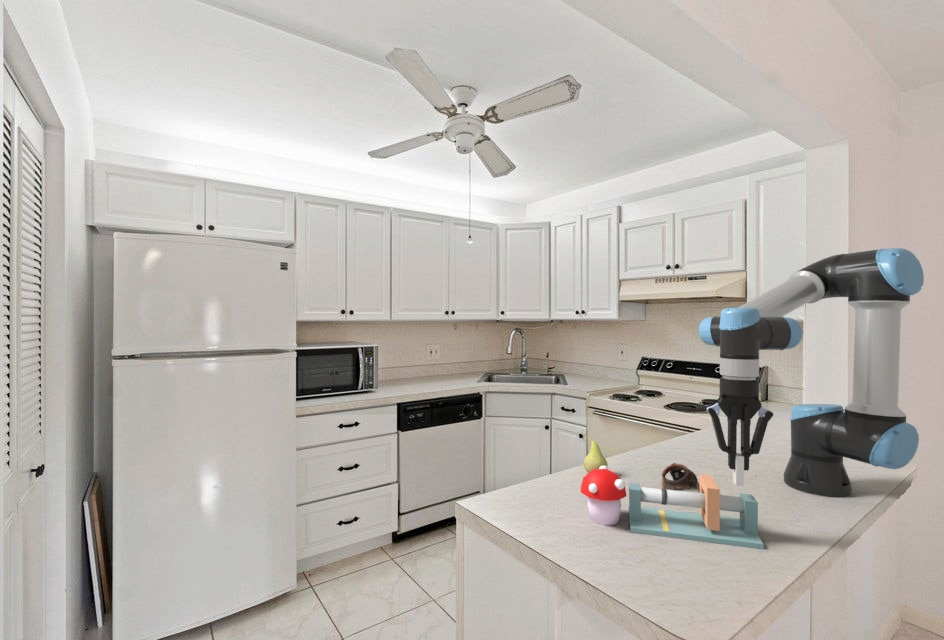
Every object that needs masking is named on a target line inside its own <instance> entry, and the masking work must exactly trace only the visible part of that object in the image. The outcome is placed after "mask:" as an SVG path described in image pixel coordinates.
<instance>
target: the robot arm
mask: <svg viewBox="0 0 944 640" xmlns="http://www.w3.org/2000/svg"><path fill="white" fill-rule="evenodd" d="M924 275H925V274H924V270H923V267H922V264H921V262H920V260H919V258H918V257H916V254H914V253H913V252H912V251H910V250H908V249H906V248H903V247H897V248H895V247H893V248H879V249H873V250H865V251H864V250H863V251H858V252H857V251H856V252H850V253H841V254H840V253H839V254H834V255H831V256H828V257H826V258H823V259H820V260H818V261H816V262H813V263H811V264H809V265H806V266H805V267H803V268H800V269H799V270H797V271H795V272H794V273H792V274H791V275H790V276H789V277H788V279H787V280H786V281H785V282H783V283H781V284H779V285H777V286H775V287H773V288H771V289H770V290H768V291H766V292H764V293H763V294H761V295H758V296H756V297H755V298H753V299H751V300H750V301H748V302H746V303H744V304H741V305H740V306H738V307H726V308H723V309H722V310H721V312H720V316H709V317H706V318H704V319H703V320H702V321H701V322H700V323H699V327H698V335H699V337H700V338H699V339H700V340H701V341H702V342H703V343H704V344H706V345H709V346H715V347H719V374H720V375H721V377H720V378H719V396H718V398H717V400H716V403H715V404H713V405H711V406H709V405H708V406H706V407H705V410H706V411H707V413H708V414H709V416H710V417H711V422H712V426H713V429H714V433H715V437H716V441H717V445H718V448H719V449H720V450H721V451H722V452H724V453H726V454H727V466H728V468H729V469H730V470H732V482H733V483H734V485H735V486H736V487H745V483H744V482H745V471H747V472H748V471H749V469H750V457H752V455H758V454H760V452H761V448H762V444H763V441H764V439H765V434H766V431H767V427H768V425H769V424H768V423H769V421H770V420H771V419H772V417H774V412H773V411H771V410H769V409H767V408H765V407H764V406H762V405H763V404H762V403H761V400H760V381H759V379H757V378H758V377H760V350H761V351H764V350H765V351H775V350H777V351H785V350H792V349H793V348H795V347H797V346H798V345H799V344H800V343H801V341H802V339H803V329H802V326H801V324H800V323H799V322H798V321H797V320H795V319H794V318H792V317H788V316H787V317H785V316H786V315H788V314H790V313H792V312H793V311H796V310H797V309H799V308H800V307H802V306H804V305H806V304H815V303H817V302H819V301H821V300H823V299H831V298H847V303H848V305H850V306H851V307H852V308H854V311H855V312H854V313H855V314H854V315H855V316H854V339H853V340H854V343H853V344H854V345H853V371H852V372H853V376H852V400H851V402H850V403H849V404H847V405H846V406H844V407H843V406H842V405H841V404H831V403H805V404H797V405H794V406H793V407H792V409H791V414H790V419H789V420H790V448H791V450H790V458H789V460H788V463H787V465H786V467H785V469H784V473H783V482H784V483H785V484H786V485H787V486H788V487H791V488H793V489H795V490H799V491H801V492H805V493H809V494H812V495H813V494H814V495H819V496H827V497H847V496H850V495H851V494H852V482H851V479H850V478H849V474H848V472H847V469H846V468H845V464H844V458H845V459H850V460H854V461H858V462H861V463H865V464H869V465H871V466H873V467H876V468H877V467H880V468H886V469H890V470H899V469H901V468H904V467H906V466H907V465H908V464H909V463H910V462H911V460H913V458H914V457H915V455H916V453H917V450H918V448H919V447H918V446H919V442H920V437H919V435H920V434H919V432H918V429H917V428H916V427H915V426H914V425H912V424H910V422H909V423H908V422H907V414H906V413H905V412H904V411H903V410H902V409H901V408H900V406H899V385H900V384H899V383H900V381H899V380H900V355H901V354H900V351H901V350H900V349H901V321H902V320H901V318H902V317H901V316H902V310H903V309H904V308H906V306H908V305H910V303H911V302H910V300H911V296H914V295H916V294H919V292H921V290H922V287H923V286H924V280H925V279H924V278H925V276H924ZM720 410H721V411H722V413H723V414H724V416H725V417H727V442H726V439H725V435H724V431H723V428H722V424H721V423H722V422H721V419H720V417H719V415H720V414H721V413H720ZM756 414H758V419H757V421H756V425H755V429H754V432H753V434H752V435H753V436H752V439H751V422H752V419H753V417H754V416H756ZM738 421H739V422H740V452H737V440H738V439H737V434H738V433H737V431H738V430H737V429H738V427H737V425H738Z"/></svg>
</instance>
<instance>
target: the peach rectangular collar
mask: <svg viewBox="0 0 944 640" xmlns="http://www.w3.org/2000/svg"><path fill="white" fill-rule="evenodd" d="M699 485H700V493H705V508H699V514H701V516H702V519H703V521H704V523H705V525H706V528H707V530H715V531H720V513H721V510H720V495H721V494H720V490H721V489H720V488H719V486H718V485H717V483H716V481H715V480H714V478H713V476H712V475H711V474H703V473H702V474H701V473H700V474H699Z"/></svg>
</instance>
